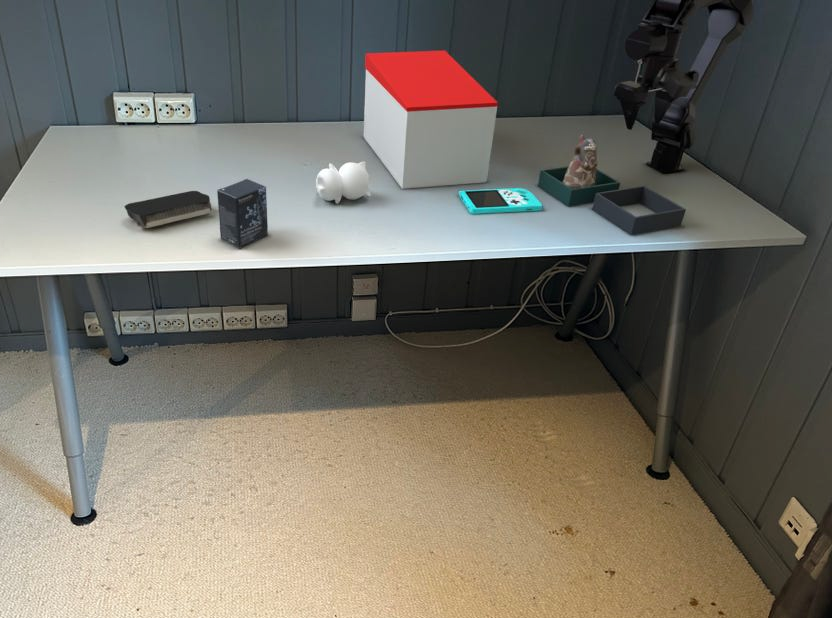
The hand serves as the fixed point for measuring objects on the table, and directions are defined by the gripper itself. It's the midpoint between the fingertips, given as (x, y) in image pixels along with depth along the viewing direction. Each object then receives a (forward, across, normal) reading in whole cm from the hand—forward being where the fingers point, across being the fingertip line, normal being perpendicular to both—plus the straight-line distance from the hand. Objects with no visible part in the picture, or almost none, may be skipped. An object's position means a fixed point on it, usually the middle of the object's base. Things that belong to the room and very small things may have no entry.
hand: (643, 126), depth 165 cm
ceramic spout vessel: (+13, -16, +1) cm, 20 cm away
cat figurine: (+13, -65, +24) cm, 70 cm away
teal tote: (+13, -16, +1) cm, 21 cm away
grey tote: (+13, -15, -15) cm, 25 cm away
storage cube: (+13, -35, +35) cm, 52 cm away
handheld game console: (+13, -36, +5) cm, 38 cm away
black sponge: (+13, -101, +33) cm, 107 cm away
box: (+13, -91, +17) cm, 94 cm away
